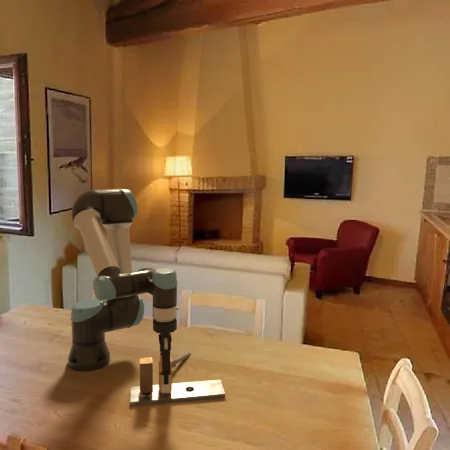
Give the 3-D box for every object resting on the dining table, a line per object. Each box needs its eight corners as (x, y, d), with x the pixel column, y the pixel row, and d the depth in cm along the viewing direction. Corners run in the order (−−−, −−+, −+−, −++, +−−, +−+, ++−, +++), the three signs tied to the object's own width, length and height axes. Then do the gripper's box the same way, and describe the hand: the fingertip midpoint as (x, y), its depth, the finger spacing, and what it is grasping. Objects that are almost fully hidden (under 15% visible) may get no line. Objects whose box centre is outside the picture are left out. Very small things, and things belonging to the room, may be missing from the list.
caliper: (167, 379, 149) (167, 362, 148) (164, 378, 149) (164, 361, 148) (191, 354, 168) (191, 339, 167) (188, 353, 168) (188, 339, 167)
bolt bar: (131, 391, 140) (130, 355, 138) (220, 383, 146) (220, 349, 144) (130, 406, 131) (129, 368, 129) (225, 398, 137) (225, 361, 135)
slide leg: (158, 387, 139) (158, 356, 137) (171, 386, 140) (170, 355, 138) (159, 393, 135) (159, 362, 134) (171, 392, 136) (171, 361, 134)
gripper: (179, 331, 124) (179, 401, 127) (174, 305, 145) (174, 366, 149) (153, 332, 122) (154, 404, 126) (152, 306, 144) (152, 367, 147)
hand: (165, 383), depth 137 cm, fingers open, 10 cm apart
